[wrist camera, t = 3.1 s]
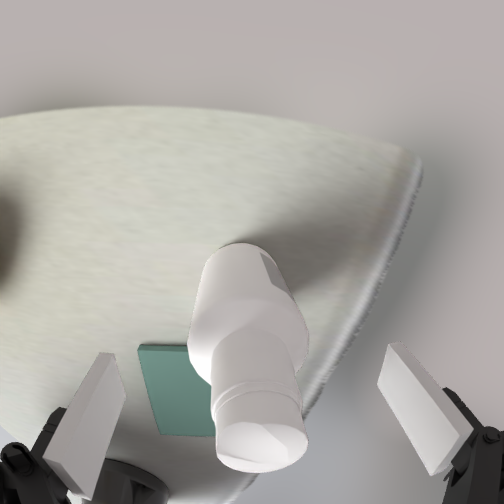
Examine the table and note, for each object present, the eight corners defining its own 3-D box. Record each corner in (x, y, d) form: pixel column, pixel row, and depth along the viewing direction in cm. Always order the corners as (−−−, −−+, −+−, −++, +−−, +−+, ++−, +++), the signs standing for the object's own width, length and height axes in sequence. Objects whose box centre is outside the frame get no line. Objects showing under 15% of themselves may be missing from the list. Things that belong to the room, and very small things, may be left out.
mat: (266, 428, 32) (267, 434, 31) (161, 428, 31) (160, 434, 30) (270, 344, 28) (271, 349, 27) (139, 344, 27) (137, 350, 26)
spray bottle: (243, 327, 28) (264, 501, 10) (185, 282, 26) (135, 451, 9) (294, 275, 27) (384, 428, 9) (237, 225, 25) (259, 348, 8)
